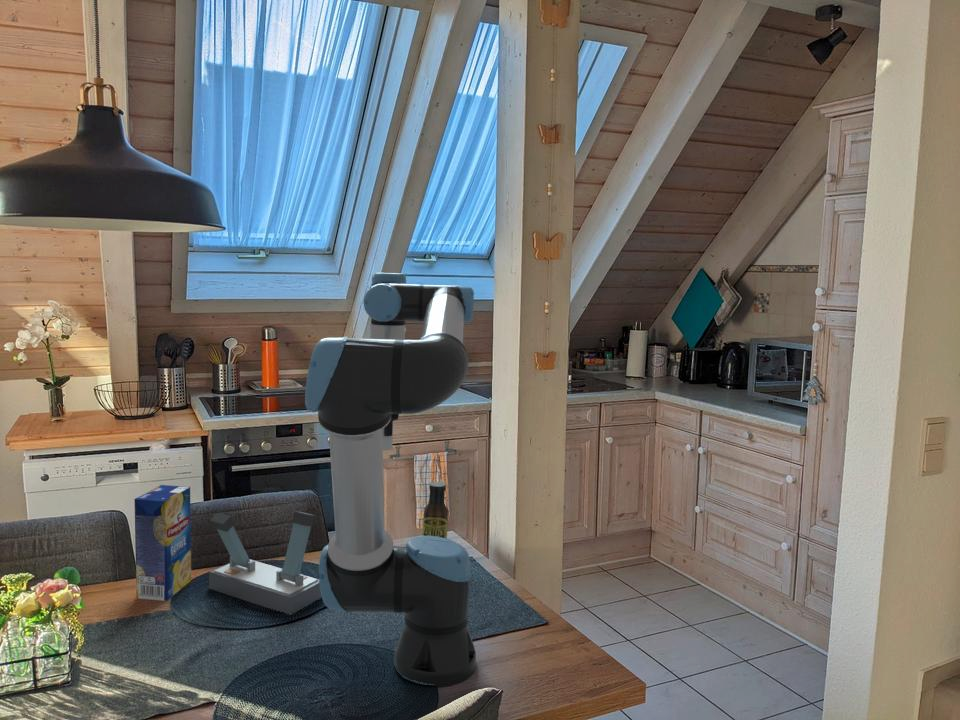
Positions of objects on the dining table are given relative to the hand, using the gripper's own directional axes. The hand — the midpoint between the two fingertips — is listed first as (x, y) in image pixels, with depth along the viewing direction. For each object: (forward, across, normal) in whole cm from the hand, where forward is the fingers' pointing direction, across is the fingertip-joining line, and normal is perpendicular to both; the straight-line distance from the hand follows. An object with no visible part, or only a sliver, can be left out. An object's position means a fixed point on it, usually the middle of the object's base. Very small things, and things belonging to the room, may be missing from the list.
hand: (385, 449), depth 170 cm
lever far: (+27, +15, +28) cm, 41 cm away
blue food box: (+33, +21, +43) cm, 58 cm away
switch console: (+32, +9, +24) cm, 41 cm away
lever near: (+27, +3, +20) cm, 34 cm away
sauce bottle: (+33, +9, -18) cm, 38 cm away
